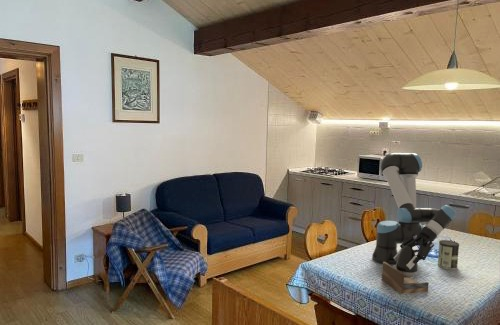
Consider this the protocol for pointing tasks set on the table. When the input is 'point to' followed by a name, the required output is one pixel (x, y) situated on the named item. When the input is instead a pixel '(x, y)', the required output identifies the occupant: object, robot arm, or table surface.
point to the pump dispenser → (406, 261)
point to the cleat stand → (401, 281)
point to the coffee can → (448, 254)
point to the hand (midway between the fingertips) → (401, 263)
